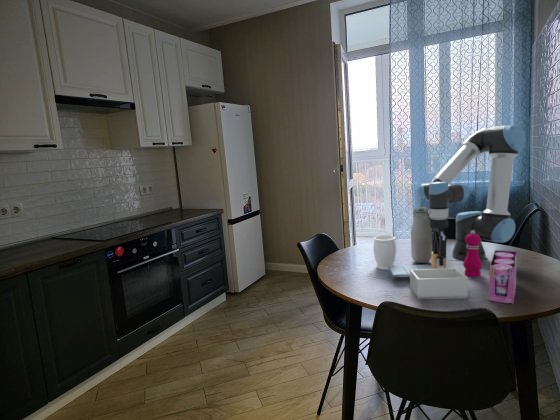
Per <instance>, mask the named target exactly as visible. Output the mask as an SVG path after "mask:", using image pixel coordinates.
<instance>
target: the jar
mask: <svg viewBox="0 0 560 420" xmlns="http://www.w3.org/2000/svg"><path fill="white" fill-rule="evenodd" d="M373 241H374V243H373V255H374V260H375V262H376V268H377V269H378V270H384V271H387V270H389V268H388V266H395V265H394V264H395V263H394V262H395V261H396V260H395V259H396V254H397V253H396V252H397V251H396V250H397V248H396V242H395V241H396V237H395V236H392V235H376V236H374V237H373ZM389 271H390V270H389Z"/></svg>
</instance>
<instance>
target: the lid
mask: <svg viewBox="0 0 560 420" xmlns="http://www.w3.org/2000/svg"><path fill="white" fill-rule="evenodd" d="M436 257H438V254H433V253H432V254H431V259H430V262H431V264H407V265H404V264H403V265H394V266H388V268H389V272H390V273H391V275H392V276H393V277H410V270H412V269H437V258H436ZM444 268H447V257H446V258H444Z"/></svg>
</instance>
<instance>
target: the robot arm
mask: <svg viewBox="0 0 560 420" xmlns="http://www.w3.org/2000/svg"><path fill="white" fill-rule="evenodd" d="M526 140H527V139H526V135H525V131H524V130H523V128H522V126H519V125H518V124H505V125H497V126H488V127H486V126H485V127H483V128H480V129H478V130H477V131H474V133H472V134H471V135H470V136H468V137H467V138H466V139H465V140H464V141H463V142H462V143H461V145H460V149H459V150H458V151H457V152H455V154H454V155H453V156H452V157H451V158H450V159H449V161H447V163H446V164H445V165H444V166H443V167H442V168H441V169H440V170H439V171H438V173H436V175H434V177H433V178H432V179H431V180H430V181H429V182H426V183H422V184H421V185H420V186H419V187H418V190H417V191H418V196H419V197H420V199H424V200H428V202H429V204H428V205H429V207H428V209H429V211H428V213H429V226H430V227H431V229H432V230H431V234H432V254H438V257H436V258H437V269H441V268H444V258H446V259H447V239H448V236H447V235H446V232H445V229H447V228H448V227H449V219H448V218H449V204H450V203H457V202H463V201H466V200H467V199H468V198H469V197H470V195H471V194H470V193H471V190H470V188H469V187H468V185H466V184H464V183H457V184H452V183H453V182H454V180H455V179H456V178H457V177H458V176H459V175H460V174H461V173H462V171H464V169H465V168H466V167H467V166H468V165H469V164H470V162H472V160H473V159H475V158H477V157H479V156H480V155H481V154H483V153H486V152H488V156H489V157H490V158H491V164H490V172H489V173H490V174H489V181H488V191H487V201H486V208H485V209H483V211H480V210H475V211H474V210H473V211H472V210H471V211H465V212H464V211H463V212H459V213H457V214H456V217H455V244H454V245H453V246H454V247H453V248H452V251H451V253H452V254H451V256H452V257H453V258H454V259H457V260H462V261H464V260H465V259H466V257H467V254H468V249H467V248H466V247H467V246H466V245H467V243H466V242H465V237H466V236H467V235H468V234H471V231H472V230H474V231H475V234H477V235H478V236H479V237H480V239H481V241H480V243H479V244H478V245H479V249H478V256H479V258H480V260H484V259H486V251H485V249H484V248H485V247H484V246H483V242H482V241H483V240H485V241H489V242H493V243H501V244H502V243H506V242H508V241H510V239H512V238H513V236H514V234H515V233H516V232H515V231H516V223H515V220H514V219H512V218H511V216H512V215H511V213H510V212H509V211H508V207H509V198H510V190H511V181H512V174H513V173H512V172H513V164H514V159H515V158H516V157H517V156H519V155H518V153H519V151H521V150H523V149H524V148H525V145H526V143H527V142H526Z"/></svg>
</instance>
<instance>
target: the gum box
mask: <svg viewBox="0 0 560 420" xmlns="http://www.w3.org/2000/svg"><path fill="white" fill-rule="evenodd" d="M517 253H518V252H517V251H511V250H510V251H508V250H497V249H496V250H494V252H493V255H492V258H491V262H490V265H489V287H488V289H489V290H488V301H491V302H497V303H504V304H509V303H512V304H511V305H514V301H515V296H516V290H515V289H516V288H517V261H518V260H517V257H518V255H517Z"/></svg>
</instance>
